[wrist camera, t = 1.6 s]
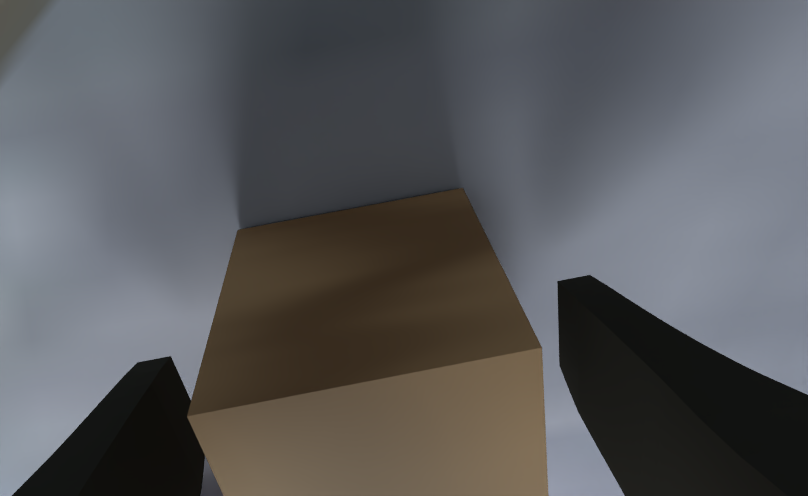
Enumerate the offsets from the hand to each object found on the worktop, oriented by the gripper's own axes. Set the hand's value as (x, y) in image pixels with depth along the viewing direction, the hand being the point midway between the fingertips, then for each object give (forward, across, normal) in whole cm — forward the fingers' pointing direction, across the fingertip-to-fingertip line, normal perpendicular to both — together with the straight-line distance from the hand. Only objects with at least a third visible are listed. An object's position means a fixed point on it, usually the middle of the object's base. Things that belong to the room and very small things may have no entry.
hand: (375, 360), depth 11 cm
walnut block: (+2, 0, 0) cm, 2 cm away
